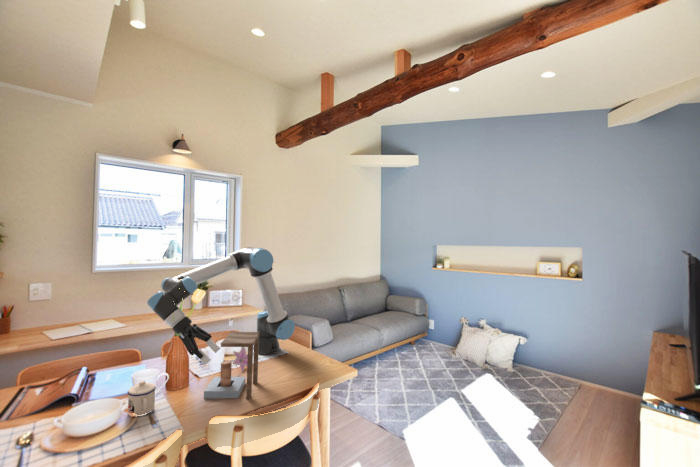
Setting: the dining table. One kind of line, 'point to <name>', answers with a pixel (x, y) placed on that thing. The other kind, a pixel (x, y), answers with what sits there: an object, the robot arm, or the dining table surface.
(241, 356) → the lily
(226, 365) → the peg
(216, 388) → the socket
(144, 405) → the teacup with lid
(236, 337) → the brown frame
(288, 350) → the dining table surface
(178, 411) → the dining table surface
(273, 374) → the dining table surface
